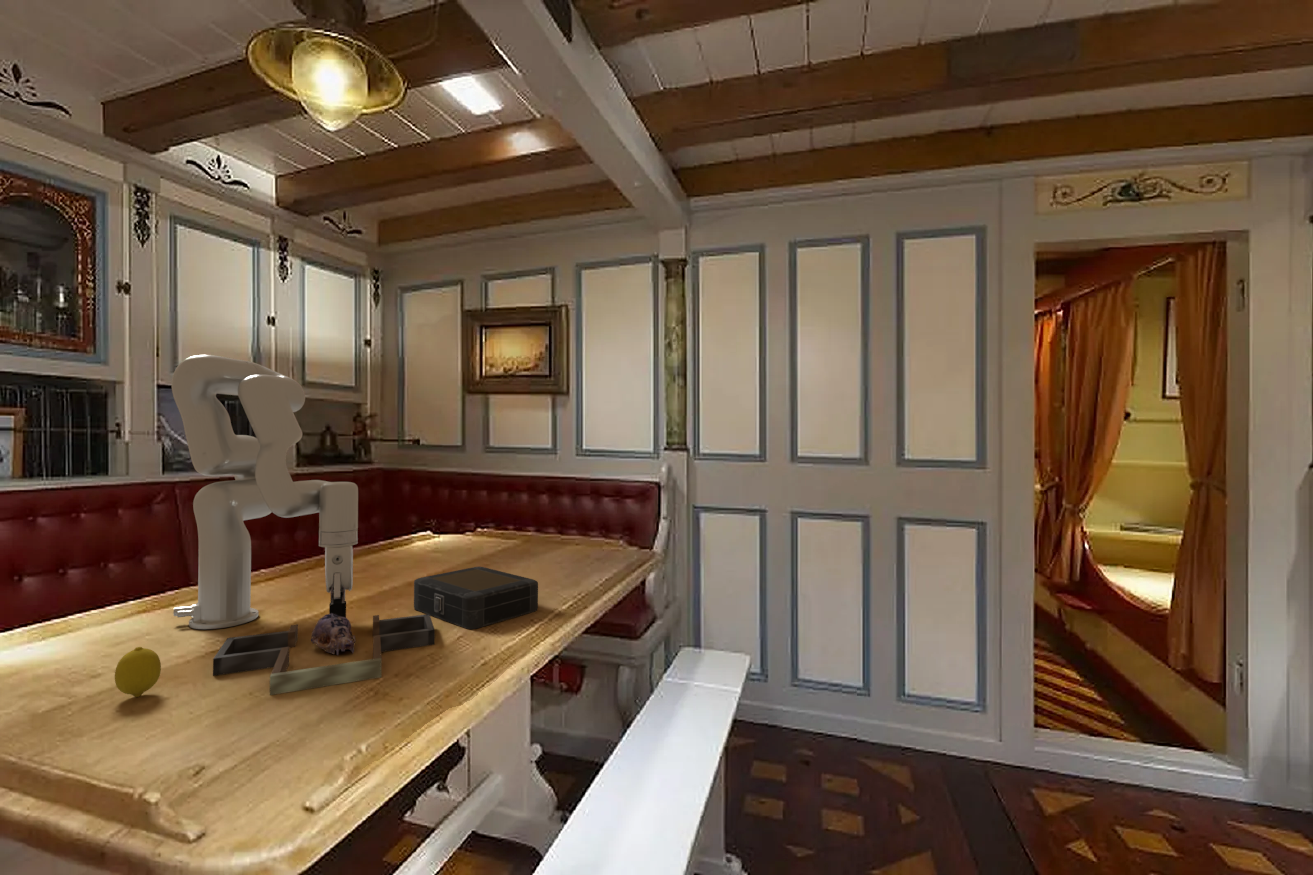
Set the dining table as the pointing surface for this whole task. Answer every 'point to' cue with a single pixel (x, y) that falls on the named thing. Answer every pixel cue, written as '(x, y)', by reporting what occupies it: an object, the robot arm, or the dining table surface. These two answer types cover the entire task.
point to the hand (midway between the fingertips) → (337, 620)
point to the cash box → (475, 596)
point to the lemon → (137, 671)
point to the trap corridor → (275, 653)
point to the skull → (333, 634)
